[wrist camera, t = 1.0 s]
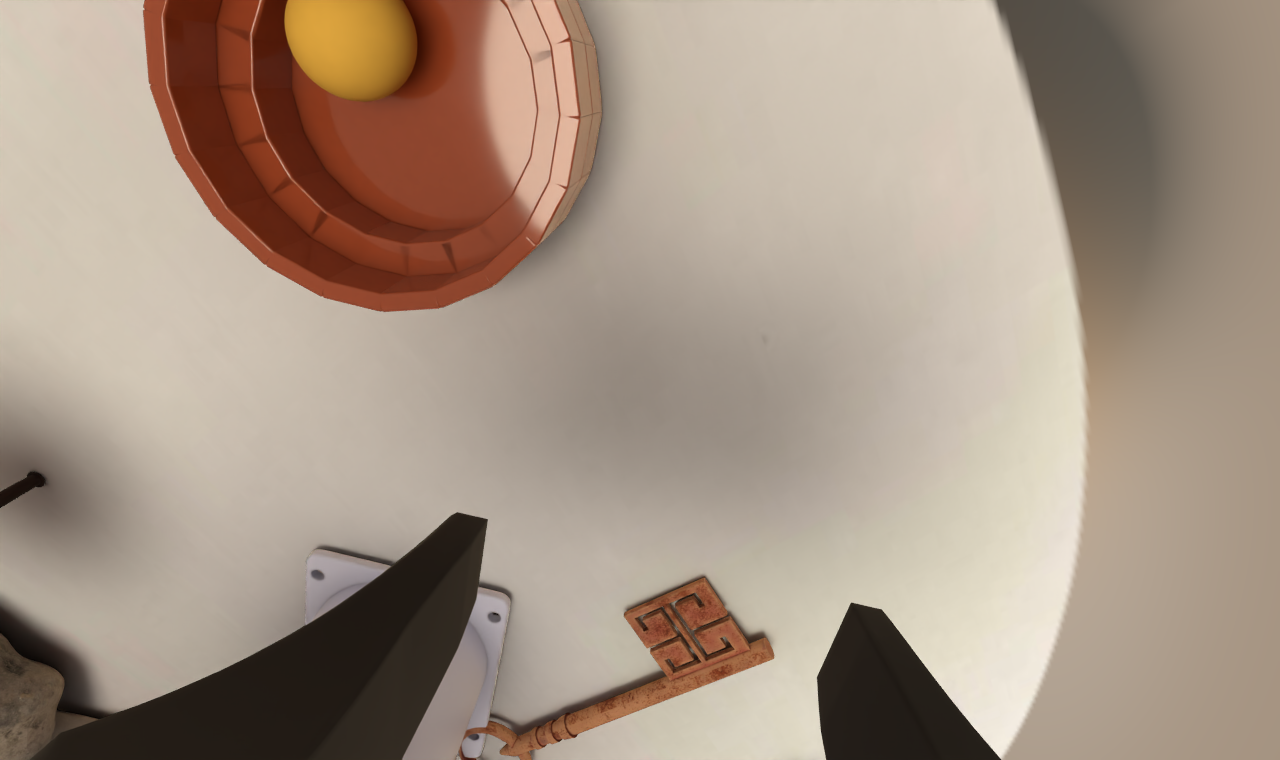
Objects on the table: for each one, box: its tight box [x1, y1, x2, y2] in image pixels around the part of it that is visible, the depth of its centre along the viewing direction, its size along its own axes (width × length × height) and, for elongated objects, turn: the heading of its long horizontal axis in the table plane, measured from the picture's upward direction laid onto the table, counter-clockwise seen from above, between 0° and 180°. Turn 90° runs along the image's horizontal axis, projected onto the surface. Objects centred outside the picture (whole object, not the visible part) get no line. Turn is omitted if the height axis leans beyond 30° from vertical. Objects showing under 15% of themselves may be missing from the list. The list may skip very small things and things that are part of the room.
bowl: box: [143, 0, 602, 312], centre depth 17 cm, size 10×10×4 cm
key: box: [458, 577, 774, 760], centre depth 27 cm, size 6×1×15 cm
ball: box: [284, 0, 417, 102], centre depth 16 cm, size 3×3×3 cm
